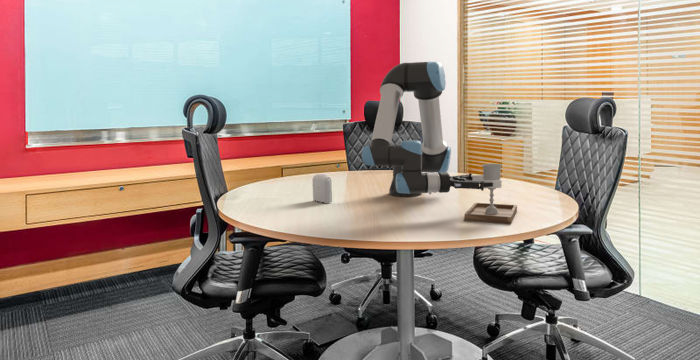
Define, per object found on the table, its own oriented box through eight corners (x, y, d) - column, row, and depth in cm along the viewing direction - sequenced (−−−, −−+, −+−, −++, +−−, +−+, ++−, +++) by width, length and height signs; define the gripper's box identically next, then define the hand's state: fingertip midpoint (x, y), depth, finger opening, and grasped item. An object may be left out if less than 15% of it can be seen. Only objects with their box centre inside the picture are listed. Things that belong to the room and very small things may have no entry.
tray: (474, 208, 202) (475, 202, 202) (516, 211, 196) (517, 205, 195) (464, 220, 182) (464, 214, 182) (510, 223, 176) (510, 217, 175)
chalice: (486, 215, 185) (486, 166, 182) (478, 211, 191) (478, 164, 189) (505, 214, 186) (505, 165, 184) (496, 210, 193) (496, 163, 190)
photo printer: (311, 201, 225) (310, 173, 223) (319, 199, 228) (318, 172, 226) (325, 204, 217) (324, 175, 215) (333, 202, 220) (332, 174, 218)
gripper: (431, 187, 199) (484, 185, 200) (445, 198, 174) (506, 197, 175) (431, 168, 198) (484, 166, 199) (445, 177, 173) (506, 175, 174)
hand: (495, 181), depth 187 cm, fingers open, 13 cm apart
